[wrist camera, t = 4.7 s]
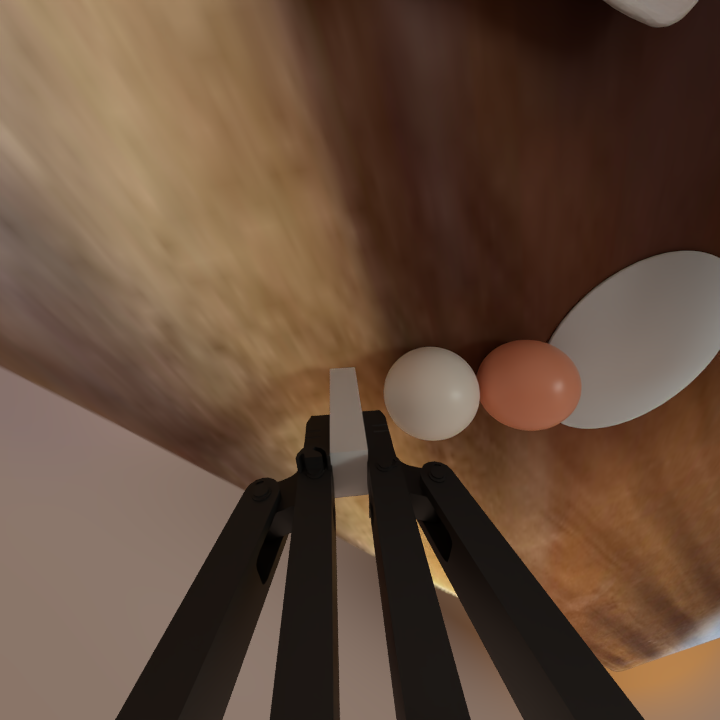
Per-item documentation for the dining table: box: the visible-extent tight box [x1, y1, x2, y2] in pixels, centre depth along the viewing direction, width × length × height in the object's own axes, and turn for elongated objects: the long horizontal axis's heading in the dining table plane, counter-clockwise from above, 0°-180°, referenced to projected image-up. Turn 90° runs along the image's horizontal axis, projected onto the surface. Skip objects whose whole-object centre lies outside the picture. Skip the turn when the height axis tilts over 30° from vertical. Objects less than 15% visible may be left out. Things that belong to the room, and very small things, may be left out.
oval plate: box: [548, 251, 720, 429], centre depth 20 cm, size 14×14×1 cm
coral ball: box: [476, 340, 582, 431], centre depth 17 cm, size 6×6×6 cm
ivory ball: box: [384, 347, 480, 441], centre depth 17 cm, size 6×6×6 cm
